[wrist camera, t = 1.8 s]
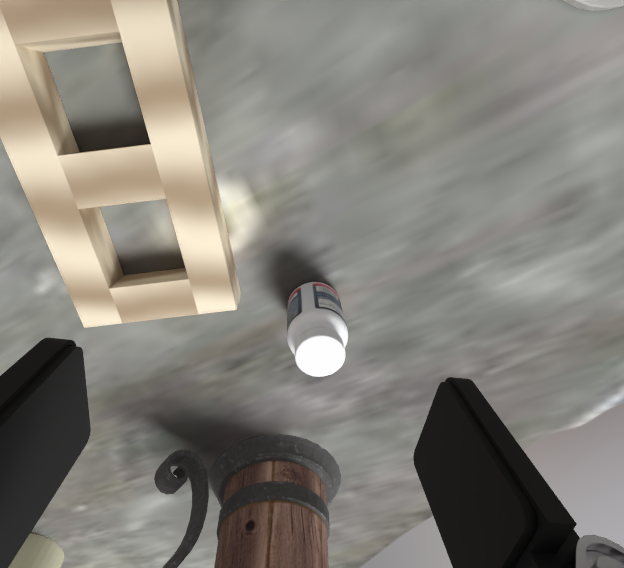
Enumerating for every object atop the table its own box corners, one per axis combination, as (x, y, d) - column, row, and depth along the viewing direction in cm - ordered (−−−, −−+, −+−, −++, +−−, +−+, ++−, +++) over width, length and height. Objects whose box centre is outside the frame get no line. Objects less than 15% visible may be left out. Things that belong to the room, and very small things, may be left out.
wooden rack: (-126, -239, 20) (-190, -294, 18) (118, -272, 20) (90, -332, 18) (100, 311, 36) (84, 327, 33) (241, 294, 35) (236, 309, 33)
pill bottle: (297, 332, 38) (297, 390, 29) (280, 289, 35) (276, 339, 27) (346, 318, 37) (360, 373, 29) (332, 273, 35) (343, 320, 27)
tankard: (367, 472, 47) (413, 695, 29) (288, 537, 52) (283, 762, 34) (214, 385, 40) (146, 607, 22) (139, 470, 45) (33, 708, 27)
